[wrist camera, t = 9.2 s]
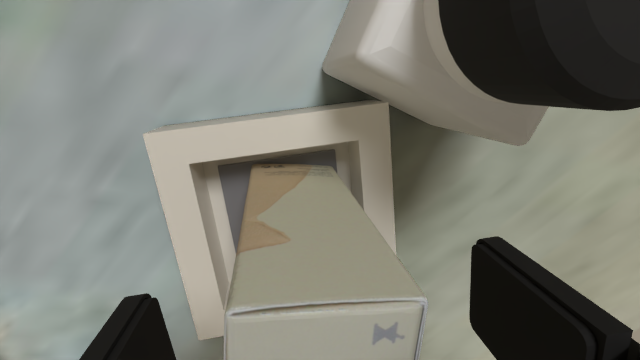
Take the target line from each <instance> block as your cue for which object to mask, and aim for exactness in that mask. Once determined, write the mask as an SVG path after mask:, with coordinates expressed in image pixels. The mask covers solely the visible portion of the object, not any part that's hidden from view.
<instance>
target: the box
mask: <svg viewBox="0 0 640 360" xmlns="http://www.w3.org/2000/svg"><path fill="white" fill-rule="evenodd" d="M427 309H428V301H427V298H426V296H425V295H424V293H423V292H422V290H421V289H420V288H419V286H418V285H417V283H416V282H415V281H414V279H413V278H412V277H411V275H410V274H409V273H408V271H407V270H406V268H405V267H404V265H403V264H402V263H401V261H400V260H399V259H398V257H397V256H396V255H395V253H394V252H393V250H392V249H391V248H390V246H389V245H388V243H387V242H386V240H385V239H384V238H383V236H382V235H381V234H380V232H379V231H378V229H377V228H376V227H375V225H374V224H373V222H372V221H371V220H370V218H369V217H368V216H367V214H366V213H365V212H364V210H363V209H362V207H361V206H360V204H359V203H358V201H357V200H356V199H355V197H354V196H353V195H352V193H351V192H350V191H349V189H348V188H347V186H346V185H345V184H344V182H343V181H342V179H341V178H340V177H339V175H338V174H337V173H336V171H335V170H334V168H333V167H331V166H322V165H306V164H254V165H252V167H251V172H250V179H249V185H248V190H247V195H246V201H245V207H244V213H243V219H242V224H241V230H240V236H239V241H238V247H237V253H236V258H235V264H234V269H233V274H232V280H231V285H230V290H229V295H228V300H227V306H226V310H225V315H224V345H223V360H419V357H420V351H421V345H422V339H423V333H424V327H425V320H426V314H427Z"/></svg>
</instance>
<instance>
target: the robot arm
mask: <svg viewBox="0 0 640 360" xmlns="http://www.w3.org/2000/svg"><path fill="white" fill-rule="evenodd" d="M470 323H471V326H472V328H473V330H474V331H475V332H476V334H477V335H478V336H479V338H480V339H481V340H482V341H483V343H484V344H485V345H486V347H487V348H488V349H489V350H490V352H491V353H492V354H493V355H494V357H495V358H496V359H497V360H640V344H639V343H637V342H636V341H635V340H633V339H632V338H631V337H632V332H633V330H632V329H630V328H629V327H627V326H626V325H624V324H623V323H622V322H620V321H619V320H617V319H616V318H615V317H613V316H612V315H610V314H609V313H607V312H606V311H605V310H603V309H602V308H600V307H599V306H597V305H596V304H595V303H593V302H592V301H590V300H589V299H587V298H586V297H585V296H583V295H582V294H580V293H579V292H578V291H576V290H575V289H573V288H572V287H570V286H569V285H568V284H566V283H565V282H563V281H562V280H560V279H559V278H558V277H556V276H555V275H553V274H552V273H550V272H549V271H548V270H546V269H545V268H543V267H542V266H540V265H539V264H538V263H536V262H535V261H533V260H532V259H531V258H529V257H528V256H526V255H525V254H523V253H522V252H521V251H519V250H518V249H516V248H515V247H513V246H512V245H511V244H509V243H508V242H506V241H505V240H503V239H502V238H500V237H490V238H484V239H479V240H478V241H477V243H476V245H474V246H473V247H472V255H471V287H470ZM79 360H176V357H175V354H174V351H173V348H172V344H171V341H170V338H169V335H168V331H167V328H166V325H165V322H164V318H163V315H162V312H161V309H160V305H159V302H158V300H157V299H156V298H151V296H150V295H149V294H141V295H134V296H128V297H125V298H124V299H123V300H122V301H121V303H120V304H119V305H118V307H117V308H116V309H115V311H114V312H113V314H112V315H111V316H110V318H109V319H108V321H107V322H106V323H105V325H104V326H103V327H102V329H101V330H100V332H99V333H98V334H97V336H96V337H95V339H94V340H93V341H92V343H91V344H90V345H89V347H88V348H87V350H86V351H85V352H84V354H83V355H82V357H81V358H80V359H79Z"/></svg>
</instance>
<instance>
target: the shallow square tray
mask: <svg viewBox="0 0 640 360" xmlns="http://www.w3.org/2000/svg"><path fill="white" fill-rule="evenodd" d="M143 137H144V140H145V144H146V148H147V151H148V155H149V159H150V162H151V166H152V170H153V173H154V177H155V181H156V184H157V188H158V192H159V195H160V199H161V203H162V207H163V210H164V214H165V218H166V221H167V225H168V229H169V232H170V236H171V240H172V243H173V247H174V251H175V254H176V258H177V262H178V265H179V269H180V273H181V276H182V280H183V284H184V287H185V291H186V295H187V298H188V302H189V306H190V309H191V313H192V317H193V320H194V324H195V328H196V332H197V335H198V339H199V341H200V340H205V339H210V338H215V337H220V336H224V315H225V310H226V306H227V300H228V295H229V290H230V285H231V280H232V274H233V269H234V264H235V258H236V253H237V247H238V241H239V236H240V230H241V224H242V219H243V213H244V207H245V201H246V195H247V190H248V185H249V179H250V172H251V167H252V165H254V164H306V165H322V166H331V167H333V168H334V170H335V171H336V173H337V174H338V175H339V177H340V178H341V179H342V181H343V182H344V184H345V185H346V186H347V188H348V189H349V191H350V192H351V193H352V195H353V196H354V197H355V199H356V200H357V201H358V203H359V204H360V206H361V207H362V209H363V210H364V212H365V213H366V214H367V216H368V217H369V218H370V220H371V221H372V222H373V224H374V225H375V227H376V228H377V229H378V231H379V232H380V234H381V235H382V236H383V238H384V239H385V240H386V242H387V243H388V245H389V246H390V248H391V249H392V250H393V252H394V253H395V255H396V241H395V221H394V200H393V180H392V160H391V139H390V119H389V102H382V101H375V100H363V101H355V102H347V103H339V104H331V105H323V106H315V107H307V108H299V109H291V110H283V111H276V112H268V113H260V114H252V115H244V116H236V117H228V118H220V119H212V120H204V121H196V122H188V123H181V124H173V125H165V126H162V127H160V128H157V129H154V130H152V131H149V132H146V133H144V134H143Z"/></svg>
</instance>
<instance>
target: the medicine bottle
mask: <svg viewBox="0 0 640 360" xmlns="http://www.w3.org/2000/svg"><path fill="white" fill-rule="evenodd" d="M322 68H323V71H324V72H325V73H326V74H328V75H330V76H332V77H334V78H336V79H338V80H340V81H342V82H344V83H346V84H348V85H350V86H352V87H354V88H356V89H358V90H360V91H362V92H364V93H366V94H368V95H370V96H373V97H375V98H377V99H379V100H381V101H383V102H389V105H391V106H393V107H395V108H397V109H399V110H401V111H403V112H405V113H407V114H409V115H411V116H413V117H415V118H417V119H419V120H421V121H423V122H426V123H428V124H430V125H433V126H437V127H441V128H445V129H449V130H453V131H457V132H462V133H466V134H470V135H474V136H478V137H482V138H486V139H491V140H495V141H499V142H503V143H507V144H511V145H517V146H520V145H524V144H526V143H527V142H528V141H529V140H530V138H531V136H532V135H533V133H534V131H535V129H536V128H537V126H538V124H539V123H540V121H541V119H542V117H543V116H544V114H545V112H546V110H547V109H548V107H549V106H551V107H565V108H578V109H592V110H606V111H614V110H628V109H633V108H638V107H640V0H350V1H349V4H348V6H347V8H346V11H345V13H344V15H343V18H342V20H341V22H340V25H339V27H338V29H337V32H336V34H335V36H334V39H333V41H332V43H331V46H330V48H329V50H328V53H327V55H326V57H325V60H324V62H323V66H322Z"/></svg>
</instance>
